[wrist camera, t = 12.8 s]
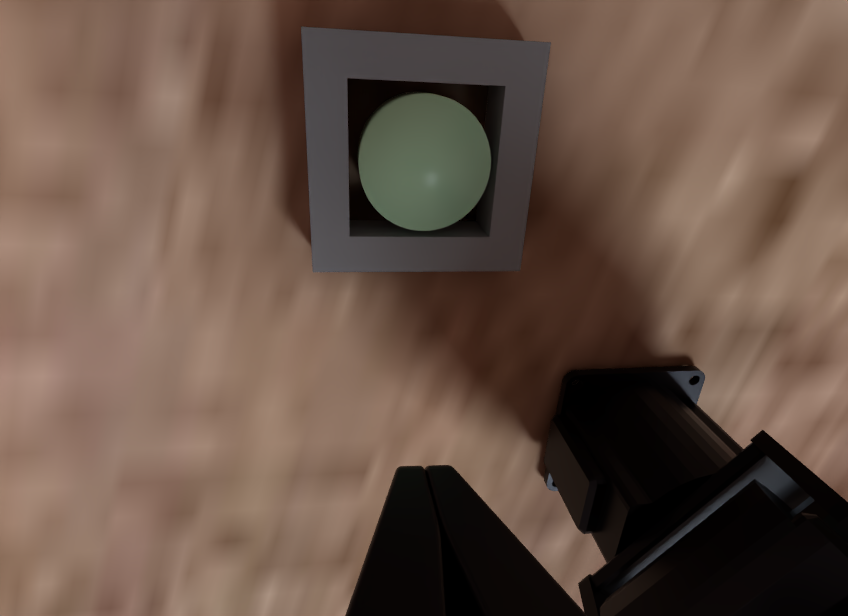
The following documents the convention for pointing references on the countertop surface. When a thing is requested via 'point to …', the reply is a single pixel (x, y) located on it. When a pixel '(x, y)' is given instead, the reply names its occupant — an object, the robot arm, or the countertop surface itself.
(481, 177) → the button
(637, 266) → the countertop surface
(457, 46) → the button housing
